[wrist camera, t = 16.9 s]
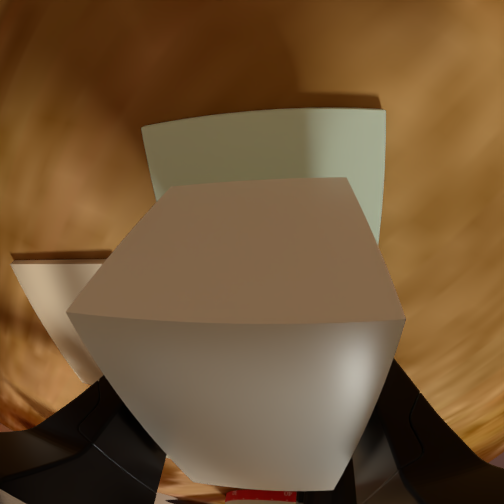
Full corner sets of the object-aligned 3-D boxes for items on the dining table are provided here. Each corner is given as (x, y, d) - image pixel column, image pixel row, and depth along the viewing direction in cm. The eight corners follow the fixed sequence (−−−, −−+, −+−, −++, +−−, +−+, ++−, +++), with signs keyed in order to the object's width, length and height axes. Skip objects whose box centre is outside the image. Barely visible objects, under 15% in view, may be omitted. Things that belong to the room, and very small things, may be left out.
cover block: (346, 177, 7) (405, 319, 3) (330, 374, 12) (333, 490, 7) (171, 186, 8) (65, 312, 4) (218, 372, 12) (193, 481, 8)
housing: (115, 258, 13) (35, 373, 8) (195, 430, 22) (177, 502, 16) (14, 260, 14) (-54, 335, 9) (112, 414, 23) (88, 475, 17)
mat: (382, 109, 9) (385, 110, 8) (358, 347, 14) (359, 352, 14) (145, 125, 10) (140, 127, 10) (201, 346, 16) (199, 352, 15)
